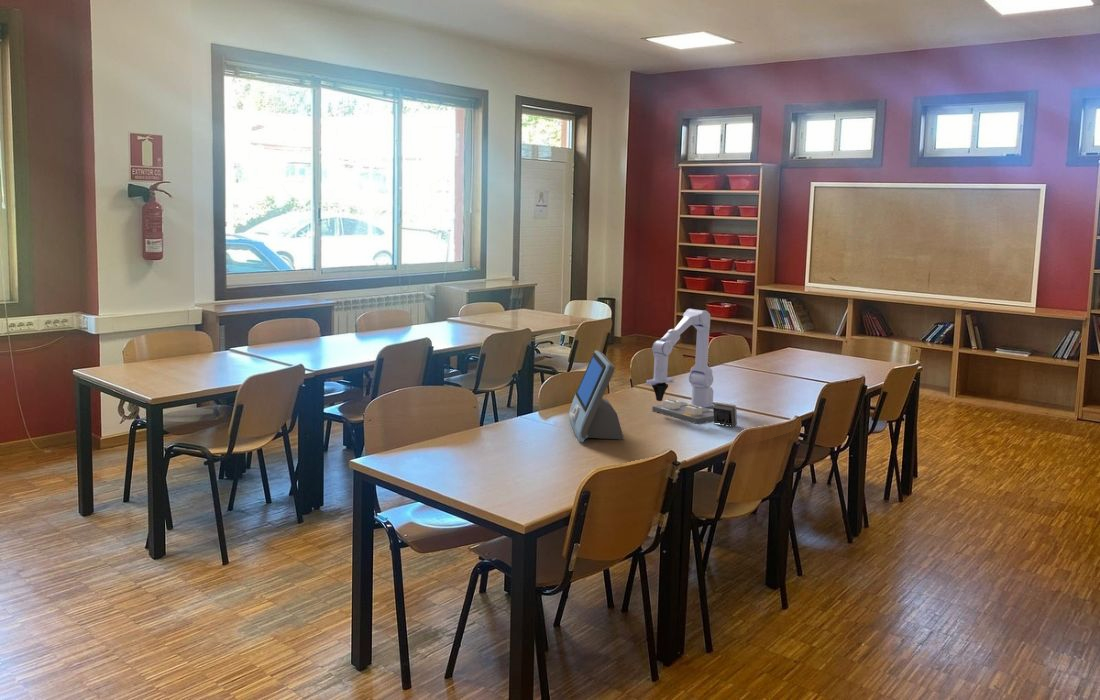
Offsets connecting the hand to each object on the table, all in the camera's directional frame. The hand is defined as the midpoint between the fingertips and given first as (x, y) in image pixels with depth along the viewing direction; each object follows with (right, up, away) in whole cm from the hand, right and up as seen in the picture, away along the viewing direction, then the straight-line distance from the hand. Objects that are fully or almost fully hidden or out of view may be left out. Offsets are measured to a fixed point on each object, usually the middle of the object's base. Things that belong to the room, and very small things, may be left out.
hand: (659, 400), depth 365 cm
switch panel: (+13, -6, +3) cm, 15 cm away
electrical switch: (+25, -9, -14) cm, 30 cm away
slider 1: (+6, -3, +5) cm, 9 cm away
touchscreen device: (-29, -11, -30) cm, 43 cm away
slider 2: (+14, -5, -5) cm, 16 cm away
